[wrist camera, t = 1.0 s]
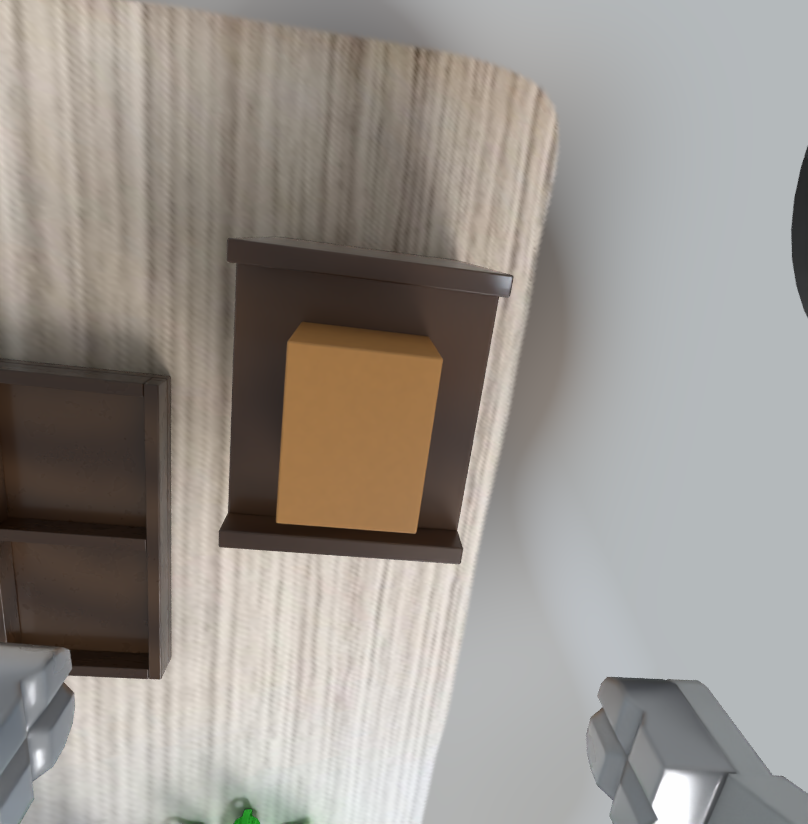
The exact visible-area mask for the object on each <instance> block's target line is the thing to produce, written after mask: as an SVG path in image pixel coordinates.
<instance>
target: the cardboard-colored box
mask: <svg viewBox="0 0 808 824" xmlns="http://www.w3.org/2000/svg"><path fill="white" fill-rule="evenodd" d="M442 363H443V358H442V357H441V355H440V354H439V352H438V351H437V349H436V347H435V346H434V344H433V343H432V341H431V340H430V338H429V337H428V336H421V335H412V334H403V333H395V332H386V331H378V330H369V329H361V328H352V327H344V326H335V325H326V324H318V323H309V322H301V324H300V325H299V326H298V328H297V329H296V331H295V332H294V333H293V335H292V336H291V338H290V339H289V340H288V342H287V352H286V368H285V383H284V399H283V415H282V430H281V446H280V462H279V477H278V493H277V509H276V522H277V523H283V524H296V525H309V526H322V527H335V528H348V529H361V530H374V531H387V532H400V533H413V534H414V533H416V532H417V526H418V520H419V513H420V507H421V500H422V494H423V487H424V481H425V474H426V468H427V461H428V455H429V448H430V442H431V435H432V429H433V422H434V416H435V409H436V402H437V396H438V389H439V383H440V376H441V370H442Z"/></svg>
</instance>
